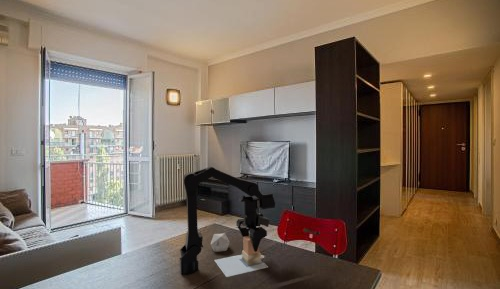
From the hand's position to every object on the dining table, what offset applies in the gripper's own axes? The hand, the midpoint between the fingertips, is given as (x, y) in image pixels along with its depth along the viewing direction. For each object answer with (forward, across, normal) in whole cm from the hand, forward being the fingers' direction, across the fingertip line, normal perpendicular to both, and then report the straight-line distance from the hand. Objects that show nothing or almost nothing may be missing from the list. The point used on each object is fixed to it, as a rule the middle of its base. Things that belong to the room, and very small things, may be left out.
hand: (251, 247), depth 112 cm
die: (+7, +18, +8) cm, 21 cm away
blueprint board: (+7, 0, +5) cm, 8 cm away
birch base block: (+6, 0, 0) cm, 6 cm away
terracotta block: (+2, 0, 0) cm, 2 cm away
